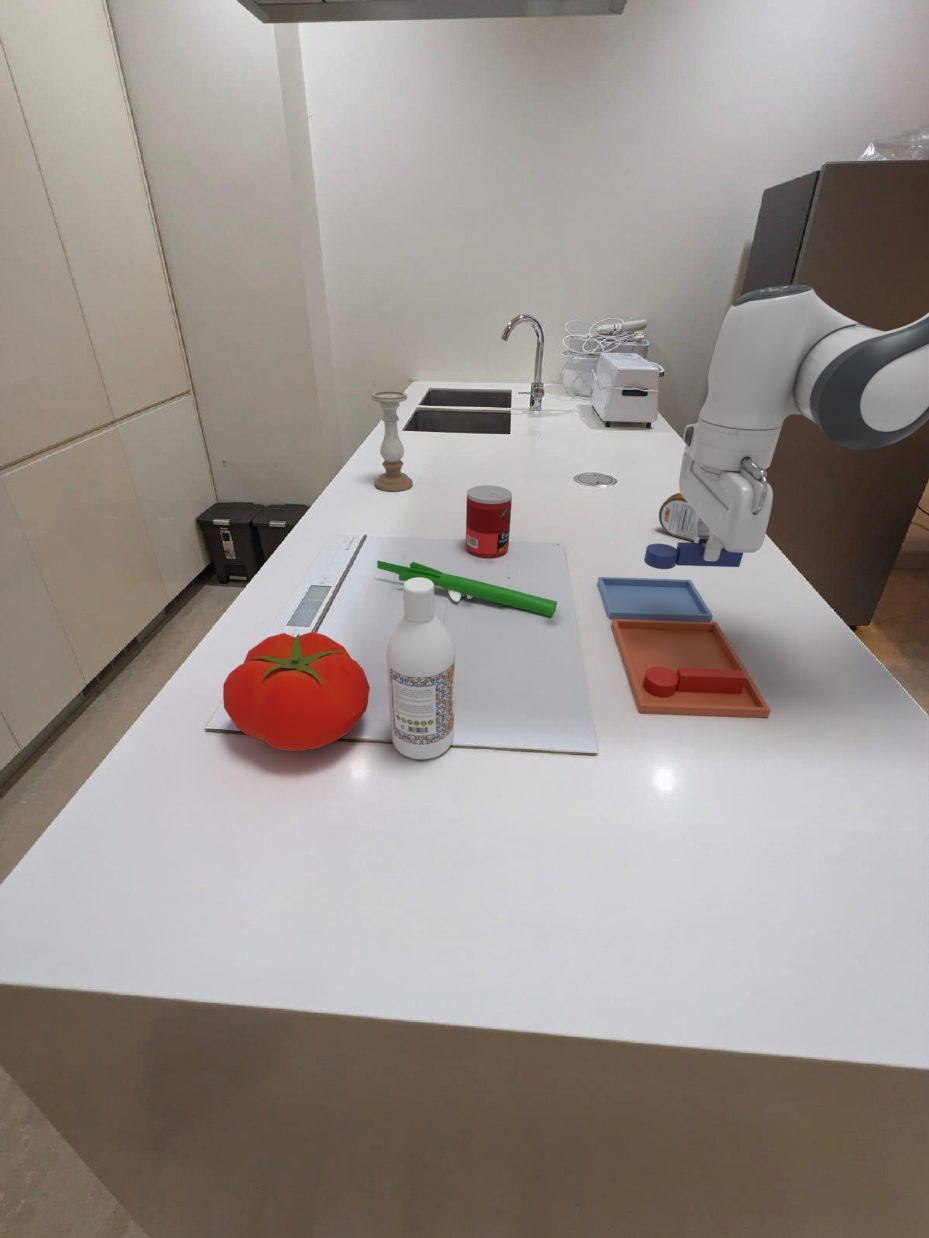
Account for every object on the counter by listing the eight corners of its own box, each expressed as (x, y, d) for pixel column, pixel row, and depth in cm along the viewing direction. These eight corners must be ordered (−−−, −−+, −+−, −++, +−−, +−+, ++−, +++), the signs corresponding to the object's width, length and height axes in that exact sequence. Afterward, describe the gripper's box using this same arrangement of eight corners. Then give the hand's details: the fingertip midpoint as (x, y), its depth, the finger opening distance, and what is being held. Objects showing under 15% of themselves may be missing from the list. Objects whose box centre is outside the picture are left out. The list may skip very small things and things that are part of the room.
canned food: (506, 560, 104) (510, 501, 98) (462, 556, 105) (463, 498, 99) (510, 542, 110) (514, 486, 104) (468, 539, 111) (470, 483, 105)
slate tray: (688, 588, 96) (690, 579, 95) (710, 624, 87) (713, 615, 86) (596, 585, 97) (598, 576, 96) (608, 621, 87) (610, 612, 86)
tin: (735, 548, 109) (747, 506, 105) (729, 554, 107) (742, 511, 103) (659, 527, 117) (668, 487, 113) (653, 532, 115) (661, 491, 111)
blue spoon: (731, 557, 77) (736, 539, 76) (742, 571, 74) (748, 553, 72) (641, 555, 77) (644, 537, 76) (647, 569, 74) (651, 550, 73)
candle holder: (420, 485, 136) (418, 394, 125) (391, 494, 131) (386, 400, 120) (395, 476, 141) (391, 388, 130) (367, 485, 136) (360, 394, 125)
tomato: (316, 792, 59) (304, 718, 53) (205, 734, 65) (184, 664, 60) (397, 710, 69) (393, 642, 64) (295, 668, 76) (284, 603, 71)
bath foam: (460, 755, 63) (463, 598, 53) (397, 767, 62) (387, 606, 51) (446, 714, 69) (446, 564, 58) (388, 723, 67) (377, 571, 57)
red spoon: (733, 680, 75) (738, 664, 73) (744, 700, 71) (750, 683, 70) (639, 676, 75) (643, 660, 74) (646, 696, 72) (650, 680, 70)
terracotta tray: (714, 631, 85) (717, 622, 84) (766, 720, 69) (770, 710, 68) (610, 627, 86) (612, 618, 85) (638, 715, 69) (641, 705, 68)
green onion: (555, 614, 90) (384, 569, 98) (558, 596, 88) (384, 551, 97) (547, 630, 86) (370, 582, 95) (550, 611, 84) (369, 564, 93)
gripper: (801, 475, 58) (762, 594, 66) (729, 424, 76) (704, 523, 83) (738, 474, 59) (706, 593, 66) (681, 423, 76) (660, 522, 83)
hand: (705, 553), depth 75 cm, fingers closed on blue spoon
